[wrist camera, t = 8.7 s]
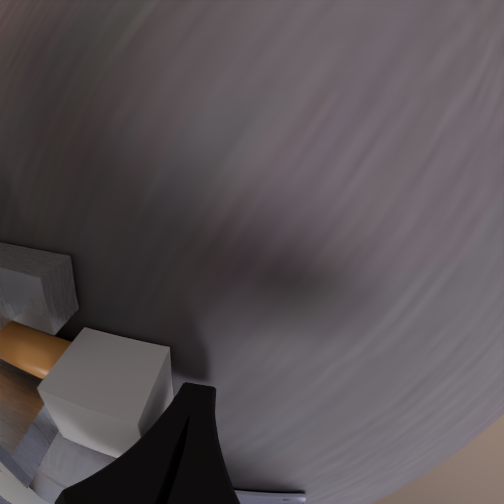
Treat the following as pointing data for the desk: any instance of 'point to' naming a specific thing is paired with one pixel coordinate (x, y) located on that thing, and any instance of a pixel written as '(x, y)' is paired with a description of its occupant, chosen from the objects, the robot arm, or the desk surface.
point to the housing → (15, 379)
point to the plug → (94, 383)
